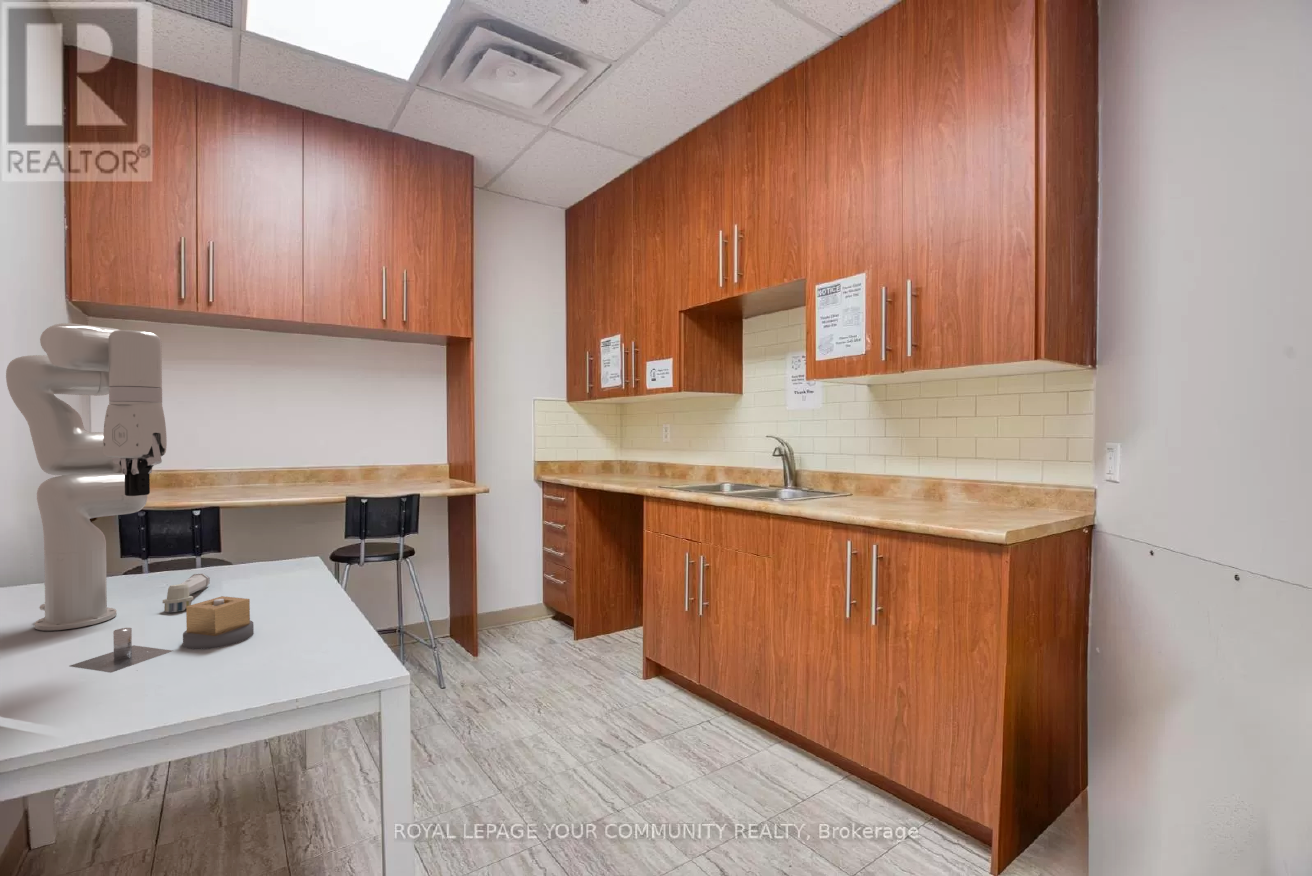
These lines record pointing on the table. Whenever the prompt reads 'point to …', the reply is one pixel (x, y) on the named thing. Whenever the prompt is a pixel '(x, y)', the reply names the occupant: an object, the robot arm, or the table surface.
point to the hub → (220, 640)
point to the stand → (121, 654)
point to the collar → (217, 616)
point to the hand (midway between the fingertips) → (137, 495)
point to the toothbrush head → (184, 592)
